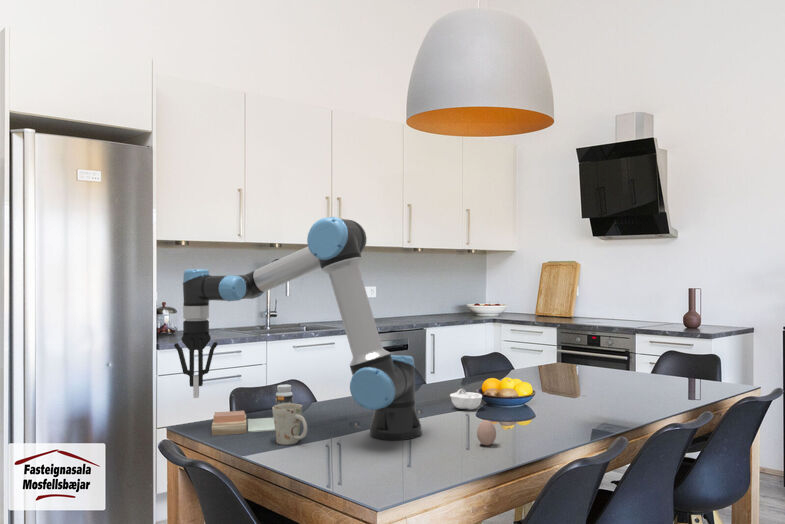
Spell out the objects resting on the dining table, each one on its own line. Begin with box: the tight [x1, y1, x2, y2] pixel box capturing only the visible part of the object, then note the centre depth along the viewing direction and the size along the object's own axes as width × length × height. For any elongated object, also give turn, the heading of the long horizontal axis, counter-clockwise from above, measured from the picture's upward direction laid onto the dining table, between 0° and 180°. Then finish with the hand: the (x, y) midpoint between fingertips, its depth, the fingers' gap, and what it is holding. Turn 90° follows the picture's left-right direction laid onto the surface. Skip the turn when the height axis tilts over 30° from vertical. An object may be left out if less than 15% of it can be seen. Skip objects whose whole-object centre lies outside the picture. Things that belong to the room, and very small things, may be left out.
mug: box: [272, 402, 308, 446], centre depth 186 cm, size 8×13×10 cm, turn 51°
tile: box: [213, 410, 246, 423], centre depth 204 cm, size 9×6×2 cm, turn 103°
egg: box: [476, 419, 497, 447], centre depth 180 cm, size 5×5×7 cm
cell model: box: [449, 388, 483, 411], centre depth 226 cm, size 10×12×7 cm
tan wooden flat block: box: [211, 413, 248, 437], centre depth 204 cm, size 16×10×2 cm, turn 13°
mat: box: [247, 417, 275, 433], centre depth 208 cm, size 16×12×1 cm
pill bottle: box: [275, 384, 294, 405], centre depth 221 cm, size 6×6×10 cm
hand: (196, 396), depth 202 cm, fingers closed
